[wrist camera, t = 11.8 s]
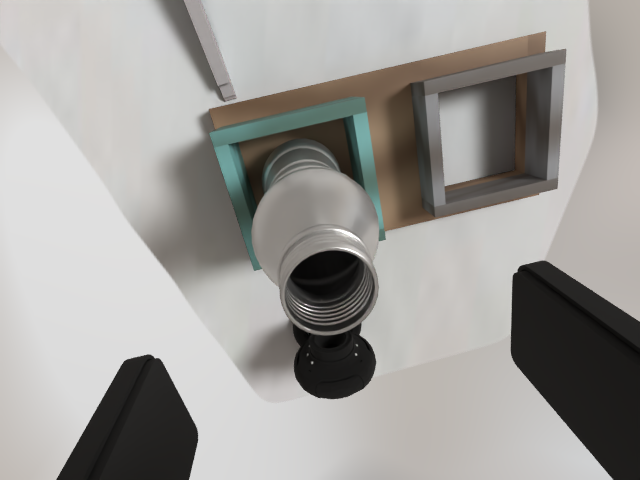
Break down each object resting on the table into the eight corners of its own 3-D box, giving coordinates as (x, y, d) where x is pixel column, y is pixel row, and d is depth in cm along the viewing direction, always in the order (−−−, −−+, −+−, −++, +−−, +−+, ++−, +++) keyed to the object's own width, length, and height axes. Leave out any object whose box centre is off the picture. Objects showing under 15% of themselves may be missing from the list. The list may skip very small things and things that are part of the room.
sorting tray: (212, 108, 29) (194, 112, 23) (533, 34, 30) (597, 19, 24) (258, 254, 35) (253, 287, 29) (528, 190, 35) (579, 210, 29)
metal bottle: (260, 207, 32) (234, 367, 13) (265, 129, 29) (241, 193, 11) (331, 213, 32) (397, 370, 14) (341, 138, 30) (439, 211, 12)
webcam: (357, 288, 38) (382, 350, 28) (364, 343, 41) (388, 415, 31) (286, 301, 37) (287, 368, 28) (297, 355, 40) (302, 432, 31)
